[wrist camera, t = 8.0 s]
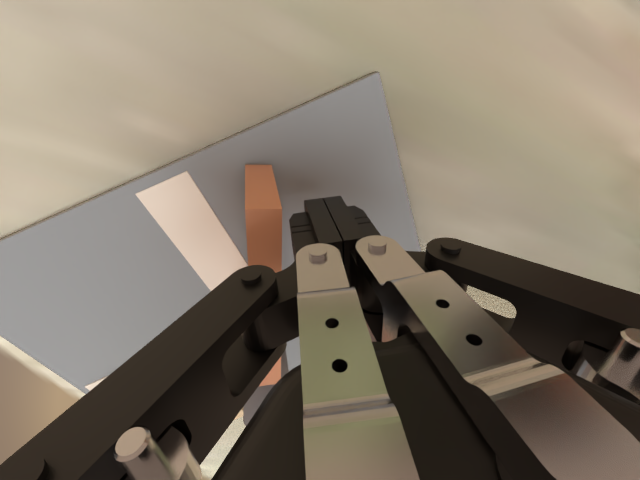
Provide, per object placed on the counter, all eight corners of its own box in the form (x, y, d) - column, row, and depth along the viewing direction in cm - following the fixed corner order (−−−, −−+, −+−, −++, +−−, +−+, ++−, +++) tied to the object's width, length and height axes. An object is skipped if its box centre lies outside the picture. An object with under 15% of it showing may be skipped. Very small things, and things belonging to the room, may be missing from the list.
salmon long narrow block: (273, 310, 19) (280, 383, 15) (252, 312, 19) (254, 386, 15) (271, 164, 15) (282, 208, 10) (245, 164, 14) (244, 209, 10)
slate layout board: (435, 320, 24) (491, 399, 18) (162, 438, 24) (137, 549, 19) (375, 71, 14) (455, 81, 9) (-75, 272, 15) (-264, 400, 9)
